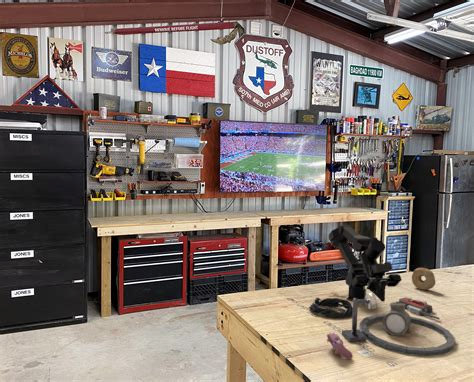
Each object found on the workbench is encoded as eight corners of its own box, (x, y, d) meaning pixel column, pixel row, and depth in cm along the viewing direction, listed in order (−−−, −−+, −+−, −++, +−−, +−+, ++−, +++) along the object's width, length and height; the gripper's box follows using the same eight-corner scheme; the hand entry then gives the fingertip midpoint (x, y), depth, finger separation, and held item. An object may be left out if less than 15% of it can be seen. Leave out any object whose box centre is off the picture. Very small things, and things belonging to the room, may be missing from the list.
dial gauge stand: (349, 342, 137) (351, 297, 136) (341, 334, 143) (343, 291, 142) (375, 340, 139) (377, 296, 138) (366, 333, 145) (368, 290, 144)
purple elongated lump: (331, 350, 135) (322, 331, 134) (343, 343, 135) (334, 325, 134) (341, 365, 125) (331, 345, 124) (354, 358, 125) (345, 338, 124)
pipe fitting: (407, 338, 140) (406, 307, 141) (382, 334, 145) (382, 304, 145) (415, 330, 150) (414, 301, 151) (392, 327, 155) (391, 299, 155)
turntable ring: (349, 339, 139) (349, 335, 139) (371, 312, 165) (372, 308, 165) (449, 364, 124) (449, 359, 123) (457, 330, 149) (457, 325, 149)
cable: (358, 312, 165) (359, 302, 165) (344, 323, 154) (345, 312, 153) (319, 303, 175) (319, 292, 175) (303, 312, 164) (303, 301, 164)
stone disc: (409, 287, 198) (410, 266, 197) (412, 285, 201) (414, 265, 200) (432, 292, 191) (434, 271, 190) (435, 291, 194) (436, 269, 193)
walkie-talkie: (392, 306, 173) (437, 323, 156) (392, 296, 172) (438, 311, 156) (405, 302, 178) (450, 318, 161) (405, 292, 177) (451, 307, 160)
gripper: (356, 255, 160) (368, 292, 151) (400, 253, 164) (415, 290, 154) (346, 269, 169) (357, 305, 159) (388, 268, 172) (402, 303, 162)
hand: (383, 301), depth 158 cm, fingers closed
